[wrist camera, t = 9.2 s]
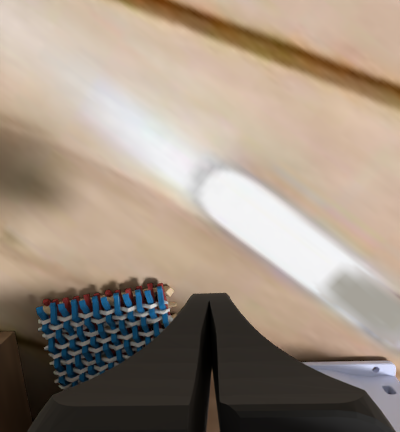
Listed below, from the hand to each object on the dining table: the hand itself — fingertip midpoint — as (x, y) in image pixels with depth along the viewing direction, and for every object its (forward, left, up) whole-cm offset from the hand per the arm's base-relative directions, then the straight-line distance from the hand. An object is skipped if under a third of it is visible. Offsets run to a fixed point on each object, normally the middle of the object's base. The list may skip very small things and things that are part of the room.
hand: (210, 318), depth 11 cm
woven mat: (+7, +9, -11) cm, 16 cm away
